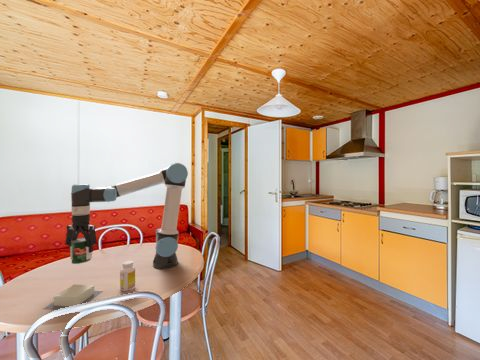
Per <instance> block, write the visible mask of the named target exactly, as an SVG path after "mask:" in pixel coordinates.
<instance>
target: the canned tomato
mask: <svg viewBox="0 0 480 360" xmlns="http://www.w3.org/2000/svg"><path fill="white" fill-rule="evenodd" d="M87 246H88V245H87V242H86V240H85V237H79V238H78V237H77V239H76V240H72V241H71V250H72V252H71V253H72V259H71V264H73V265H78V264H79V265H80V264H83V263H87V262H90V261H91V259H92V258H90V259H88V260H86V247H87Z"/></svg>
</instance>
